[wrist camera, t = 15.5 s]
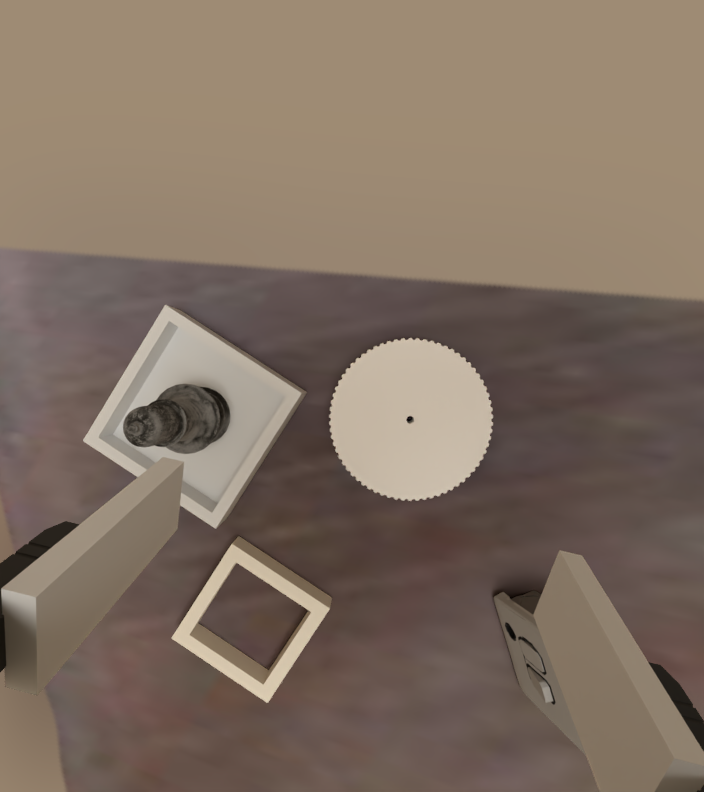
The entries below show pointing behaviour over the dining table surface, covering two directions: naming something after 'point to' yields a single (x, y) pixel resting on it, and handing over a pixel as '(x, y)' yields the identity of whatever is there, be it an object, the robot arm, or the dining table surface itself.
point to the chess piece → (179, 420)
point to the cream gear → (427, 431)
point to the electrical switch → (534, 660)
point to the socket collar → (227, 655)
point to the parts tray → (204, 367)
